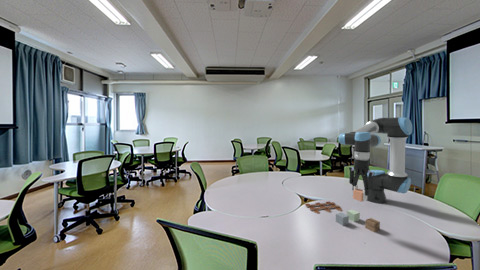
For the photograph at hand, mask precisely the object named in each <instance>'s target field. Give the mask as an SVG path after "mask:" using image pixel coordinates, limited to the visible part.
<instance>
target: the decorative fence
mask: <svg viewBox="0 0 480 270" xmlns="http://www.w3.org/2000/svg"><path fill="white" fill-rule="evenodd" d="M304 205H305V207H306V208H309V210H310V211H312V212H313V213H315V214H317V215H318V214H320V213H321V211H320V210H324V211H325V212H326V213H332V209H335V210H336V211H338V212H342V211H343V209H342V208H341V206H340V205H336V202H331V201H325V203H324V202H322V203H321V202H315V203H314V204H313V203H312V204H310V203H305V204H304Z"/></svg>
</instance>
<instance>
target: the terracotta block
mask: <svg viewBox="0 0 480 270" xmlns="http://www.w3.org/2000/svg"><path fill="white" fill-rule="evenodd" d="M352 197H353V198H352V199H354V200H356V201H360V202H364V201H363V189H361V188H358V189H356V190H352Z"/></svg>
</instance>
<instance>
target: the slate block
mask: <svg viewBox="0 0 480 270" xmlns="http://www.w3.org/2000/svg"><path fill="white" fill-rule="evenodd" d="M335 222H336V223H337V224H339V225H340V226H343V227H344V226H345V225H349V222H350V221H349V216H348V215H347V213H343V212H339V213H336V214H335Z"/></svg>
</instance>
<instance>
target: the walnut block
mask: <svg viewBox="0 0 480 270" xmlns="http://www.w3.org/2000/svg"><path fill="white" fill-rule="evenodd" d="M380 223H381V222H380V221H378V220H377V219H374V218H372V217H370V218H367V219H365V224H364V228H365V229H367V230H369V231H370V232H372V233H375V232H378V231H380V229H381V228H380V227H381V224H380Z"/></svg>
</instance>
